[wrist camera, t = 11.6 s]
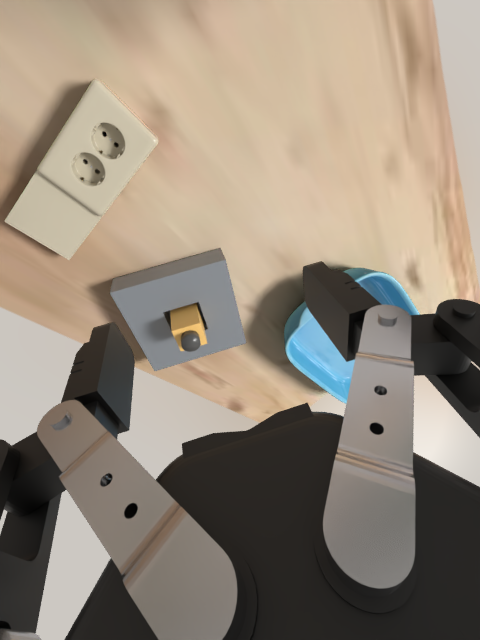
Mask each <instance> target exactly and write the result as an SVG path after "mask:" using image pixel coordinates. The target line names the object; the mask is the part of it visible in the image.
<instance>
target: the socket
mask: <svg viewBox="0 0 480 640" xmlns="http://www.w3.org/2000/svg"><path fill="white" fill-rule="evenodd" d="M110 294H111V296H112V298H113V300H114V301H115V303H116V305H117V307H118V308H119V310H120V312H121V314H122V315H123V317H124V319H125V320H126V322H127V324H128V326H129V327H130V329H131V331H132V333H133V334H134V336H135V338H136V340H137V341H138V343H139V345H140V347H141V348H142V350H143V352H144V354H145V355H146V357H147V359H148V361H149V362H150V364H151V366H152V368H153V369H154V371H157V370H160V369H164V368H167V367H170V366H173V365H177V364H180V363H183V362H187V361H190V360H193V359H196V358H200V357H203V356H206V355H209V354H213V353H216V352H219V351H222V350H226V349H229V348H232V347H235V346H239V345H242V344H245V343H246V340H245V336H244V332H243V328H242V324H241V320H240V316H239V312H238V308H237V304H236V300H235V296H234V292H233V288H232V284H231V280H230V276H229V272H228V268H227V264H226V260H225V257H224V255H223V253H222V251H221V248H219V249H215V250H212V251H208V252H205V253H201V254H198V255H194V256H191V257H187V258H184V259H180V260H177V261H173V262H170V263H166V264H163V265H159V266H156V267H152V268H149V269H145V270H142V271H138V272H135V273H131V274H128V275H124V276H121V277H117V278H114V279H113V281H112V285H111V290H110ZM193 303H197V304H198V307H199V310H200V313H201V316H202V320H203V325H204V329H205V334H206V339H207V344H204V345H201V346H200V347H199V348H198V349H197V350H196V351H192V352H188V351H180V349H179V346H178V344H177V342H176V340H175V338H174V336H173V333H172V330H171V316H170V310H173V309H176V308H180V307H183V306H186V305H190V304H193Z"/></svg>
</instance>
